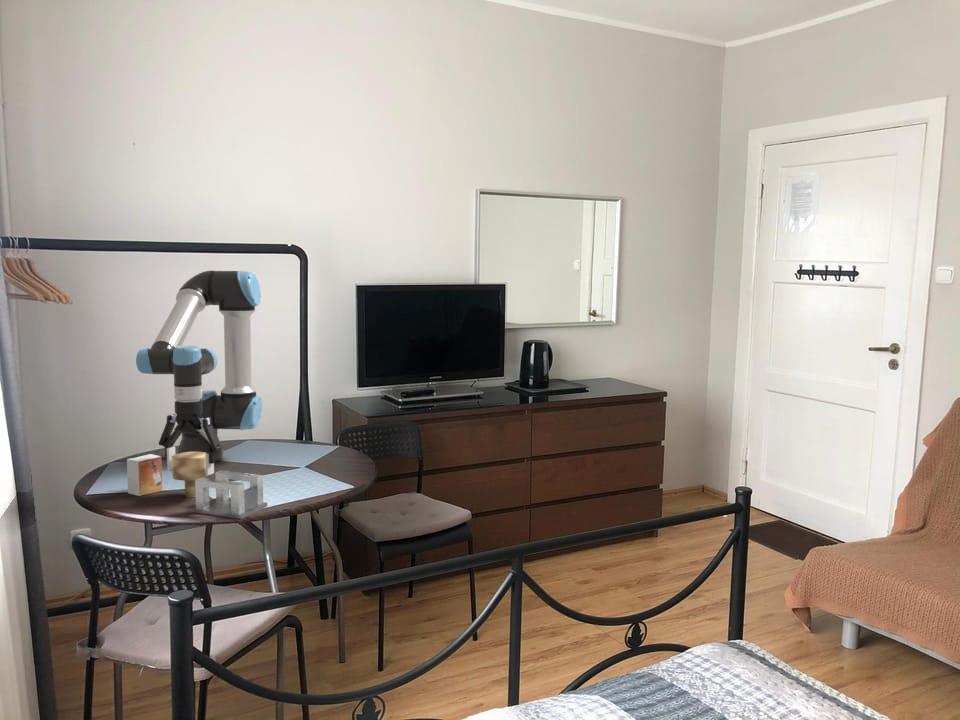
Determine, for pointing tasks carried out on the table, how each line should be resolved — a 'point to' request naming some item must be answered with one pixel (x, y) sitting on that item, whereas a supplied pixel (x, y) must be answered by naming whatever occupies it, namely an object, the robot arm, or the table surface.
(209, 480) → the fork bracket
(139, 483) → the small box
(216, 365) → the robot arm
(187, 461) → the mushroom peg
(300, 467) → the table surface
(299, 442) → the table surface
